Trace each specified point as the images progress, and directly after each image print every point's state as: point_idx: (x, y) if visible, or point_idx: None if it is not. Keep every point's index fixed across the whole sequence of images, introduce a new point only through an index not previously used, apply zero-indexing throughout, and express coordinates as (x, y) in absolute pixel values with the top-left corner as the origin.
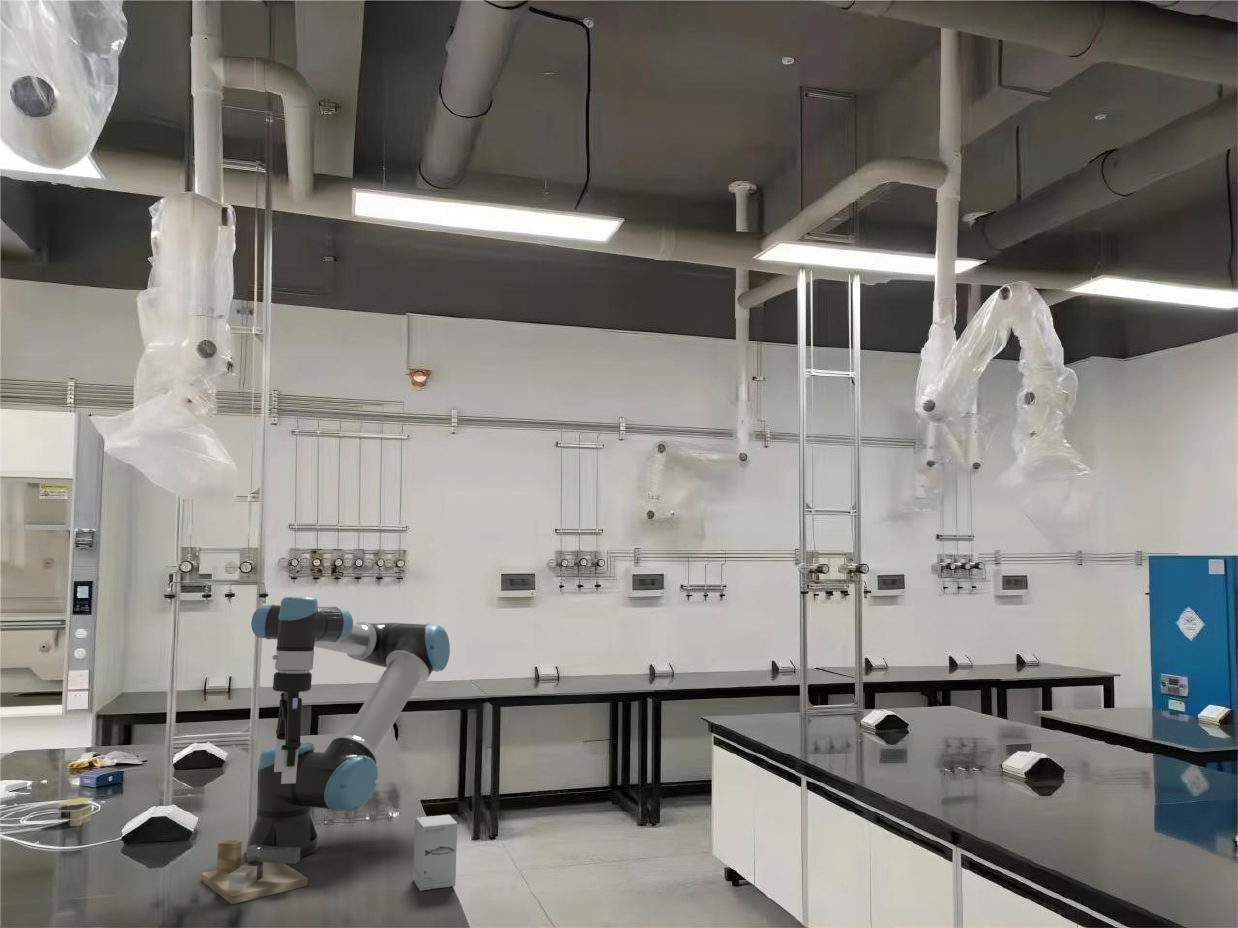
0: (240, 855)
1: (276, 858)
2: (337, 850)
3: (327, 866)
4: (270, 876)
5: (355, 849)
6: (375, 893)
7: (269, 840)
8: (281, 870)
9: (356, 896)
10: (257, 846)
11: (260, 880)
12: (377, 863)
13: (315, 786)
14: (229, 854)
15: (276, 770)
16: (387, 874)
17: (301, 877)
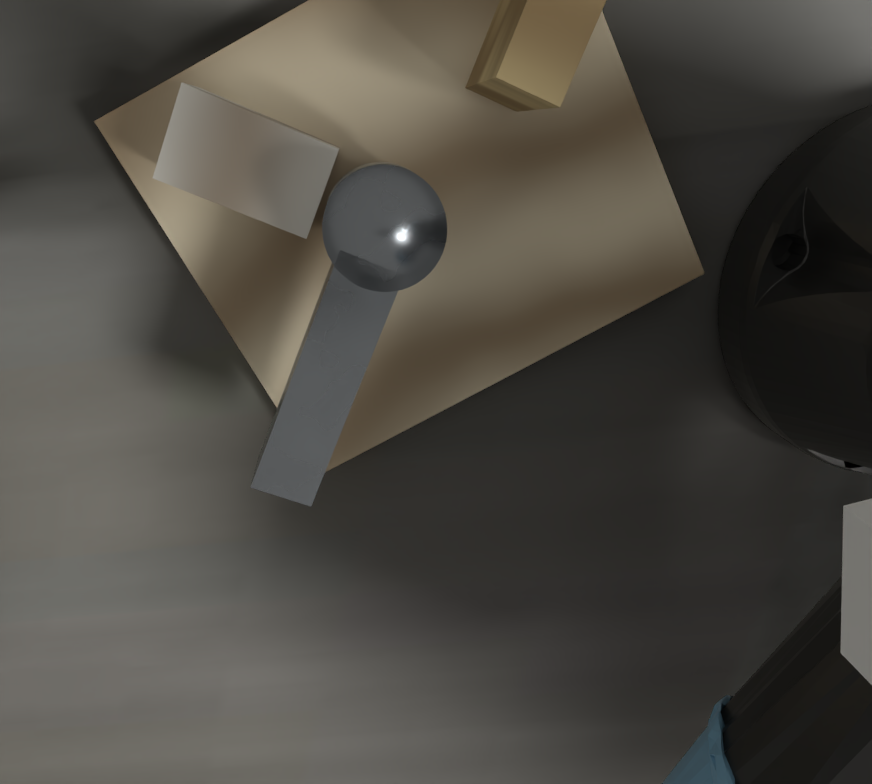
0: (532, 106)
1: (296, 358)
2: (789, 542)
3: (571, 520)
4: None
5: (773, 614)
6: (167, 731)
7: (828, 245)
8: (467, 337)
9: (141, 667)
10: (400, 237)
11: None
12: (548, 712)
13: (819, 731)
14: (500, 35)
15: (853, 539)
16: (395, 756)
17: None
